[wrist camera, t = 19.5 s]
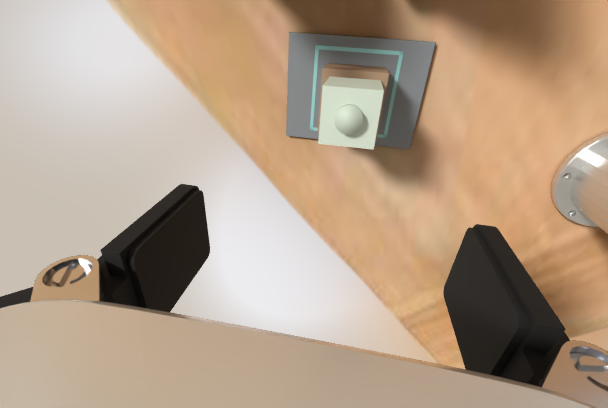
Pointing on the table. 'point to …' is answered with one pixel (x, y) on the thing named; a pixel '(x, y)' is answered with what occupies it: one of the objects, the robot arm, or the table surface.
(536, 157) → the table surface
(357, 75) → the walnut block
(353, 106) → the sage block
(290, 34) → the slate mat
